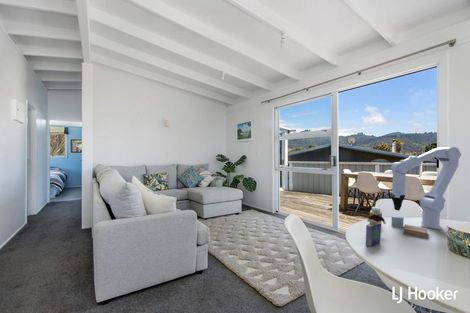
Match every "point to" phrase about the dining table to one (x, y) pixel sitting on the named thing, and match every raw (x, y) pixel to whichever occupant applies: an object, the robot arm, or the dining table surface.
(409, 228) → the walnut block
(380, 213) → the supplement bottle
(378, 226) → the flask
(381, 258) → the dining table surface
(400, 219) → the slate cube
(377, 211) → the grandmother figurine
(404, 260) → the dining table surface
